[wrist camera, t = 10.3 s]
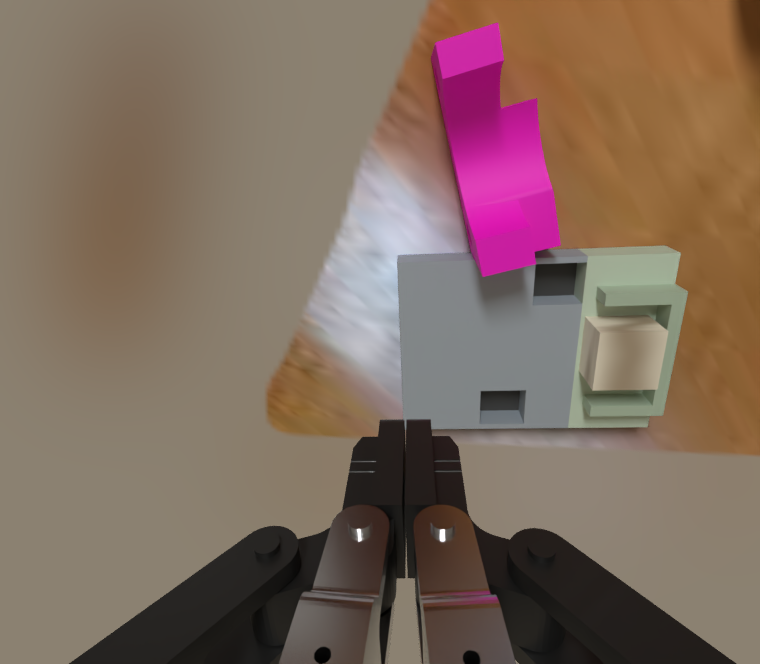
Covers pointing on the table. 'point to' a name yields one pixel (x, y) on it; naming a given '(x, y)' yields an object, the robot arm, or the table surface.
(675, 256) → the board
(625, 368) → the birch block
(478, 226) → the toy block
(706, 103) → the table surface
